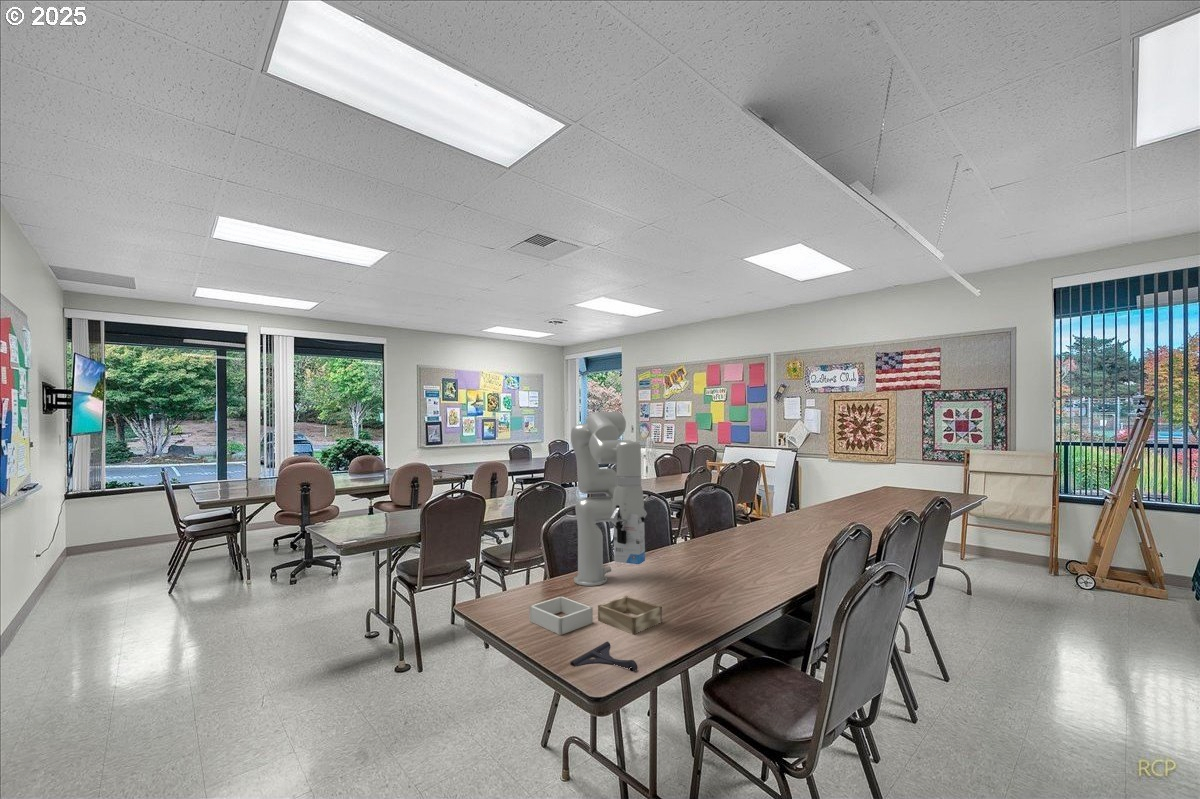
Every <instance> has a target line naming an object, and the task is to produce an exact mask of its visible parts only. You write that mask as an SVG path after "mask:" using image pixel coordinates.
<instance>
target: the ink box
mask: <svg viewBox="0 0 1200 799" xmlns="http://www.w3.org/2000/svg"><path fill="white" fill-rule="evenodd" d="M617 519H618V517H617ZM620 519H622V518H621V517H620ZM620 524H621V525H622V522H621V523H620ZM625 530H626V544H621V543H618V542H617V529H616V528H615V526H614V525H613V553H614V554H613V561H614V562H616V563H624V564H632V565H633V564H634V565H641V564H642V563H644V562H645V561H646V546H645V545H646V543H645V542H646V541H645V540H646V538H645V537H646V536H645V535H646V534H645V522H644V521H643V522H638V515H637V514H631V515H630V520H628V521H627V522H626V526H625Z"/></svg>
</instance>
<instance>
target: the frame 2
mask: <svg viewBox="0 0 1200 799" xmlns="http://www.w3.org/2000/svg"><path fill="white" fill-rule="evenodd" d="M597 608H598V609H597V621H598V622H600V623H603V624H606V625H607V626H611V627H614V628H616V629H618V630H622V631H623V630H624V632H626V631H627V632H626V633H629V632H630V633H629V634H631V633H632V635H637V634H639V633H641V632H643V631H646V630H647V628H648V629H650V628H652V626H653V627H655V626H657V625H659V624H658V623H660V624H661V622H662V623H663V608H662V606H660V605H656V604H653V603H650V602H647V601H645V600H641V599H638V598H634V597H632V596H629V595H625V596H621V597H619V598H616V599H612V600H610V601H607V602H604V603H602V604H598V605H597ZM625 612H628V613H630V614H632V615H629V614H627V613H625ZM633 615H634V616H633ZM656 624H657V625H656ZM654 625H655V626H654ZM645 629H646V630H645ZM640 631H641V632H640ZM638 632H639V633H638ZM636 633H637V634H636Z"/></svg>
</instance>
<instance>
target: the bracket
mask: <svg viewBox="0 0 1200 799" xmlns="http://www.w3.org/2000/svg"><path fill="white" fill-rule="evenodd" d="M610 649H611V643H610V642H609V641H605V642H603V643H602V644H599V645H598V646H596V647H595V648H593V649H591V650H589V651H587V652H585V653H584V654H582V655H579V656H578V657H577V658H574V659H573V660H571V661H570V662H569V664H570V666H572V665H573V666H574V667H580V666H585V665H590V664H607V665H613V664H615V665H614V666H616V665H618V666H621V667H625V668H628V669H629V668H630V667H632V668H633V669H632V670H633V671H635V670H636V671H638V664H637V662H636V661H635V660H633V659H629V660H628V659H627V660H626V659H619V658H617V659H616V658H614V657H612V656H611V654H610ZM618 666H617V667H618ZM621 667H620V668H621ZM636 671H635V672H636Z"/></svg>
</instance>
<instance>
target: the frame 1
mask: <svg viewBox="0 0 1200 799" xmlns="http://www.w3.org/2000/svg"><path fill="white" fill-rule="evenodd" d="M593 609H594V608H593V606H589V605H587V604H583V603H581V602H579V601H575V600H573V599H570V598H567V597H564V596H563V595H562V596H557V597H554V598H551V599H548V600H544V601H541V602H539V603H535V604H532V605H531V604H530V605H529V615H528V616H529V618H528V619H529V620H528V621H529V622H530V623H533V624H535V625H537V626H538V627H539V626H540V627H541V628H543V629H546V630H548V631H550V632H553V633H555V634H557V635H559V636H562V635H565V634H567V633H569V632H573V631H575V630H577V629H580V628H582V627H583V628H584V627H585V626H589V625H591V624H593V623H594V622H593V621H594V620H593V615H594V614H593V612H594V610H593ZM558 613H563V614H565V615H563V616H561V617H560V616H559V615H556V614H558Z"/></svg>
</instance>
